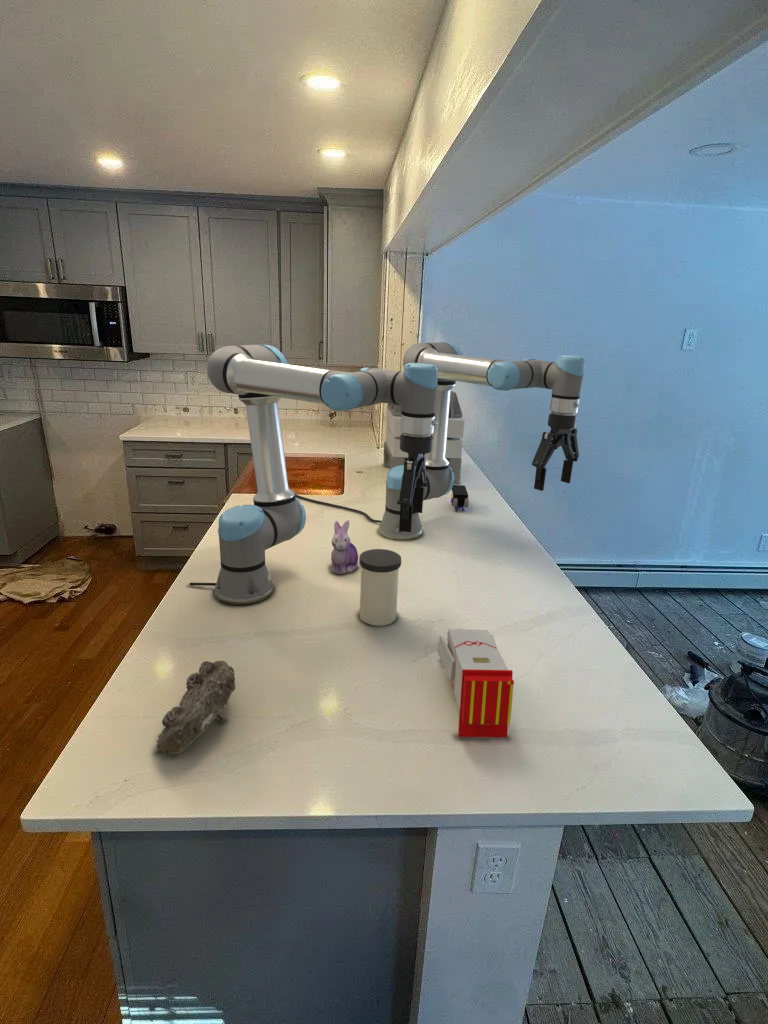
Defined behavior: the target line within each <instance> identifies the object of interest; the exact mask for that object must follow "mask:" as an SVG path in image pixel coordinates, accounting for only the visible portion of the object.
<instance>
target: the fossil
mask: <svg viewBox="0 0 768 1024" xmlns="http://www.w3.org/2000/svg"><path fill="white" fill-rule="evenodd" d="M235 674H236V673H235V670H234V668H233V666H232V665H229V664H228V662H227V661H225V660H215V661H214V662H213V661H208V660H203V662H201V664H200V667H199V668H198V672H194V673H191V674H190V675H188V677H187V678H186V687H185V688H186V691H185V692H184V694H182V695H183V696H182V698H181V700H180V702H179V706H173V707H172V708H171V709H170V710H168V711H167V712H166V714H165V715H164V716H163V718H162V720H161V724H162V726H163V727H164V728H163V730H162V732H161V733H160V734H158V736H157V740H156V743H157V744H156V747H157V751H158V752H161V753H163V754H164V755H171V754H177V753H179V754H181V753H183V752H184V751H185V750H186V749H187V748H188V747H189V746H190V745H191V744H192V743H194V742H195V741H196V740H197V738H198V737H200V735H202V734H203V733H204V732H205V731H207V729H208V728H209V726H210V724H211V722H213V721H214V720H215V719H216V718H217V719H218V720H220V722H222V721H224V718H223V717H222V716H221V715H220V714H219V712H220V711H221V710H223V709H224V708H225V707H226V706H227V704H228V702H229V700H230V698H231V696H232V693H233V692H235V691H236V677H235Z"/></svg>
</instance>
